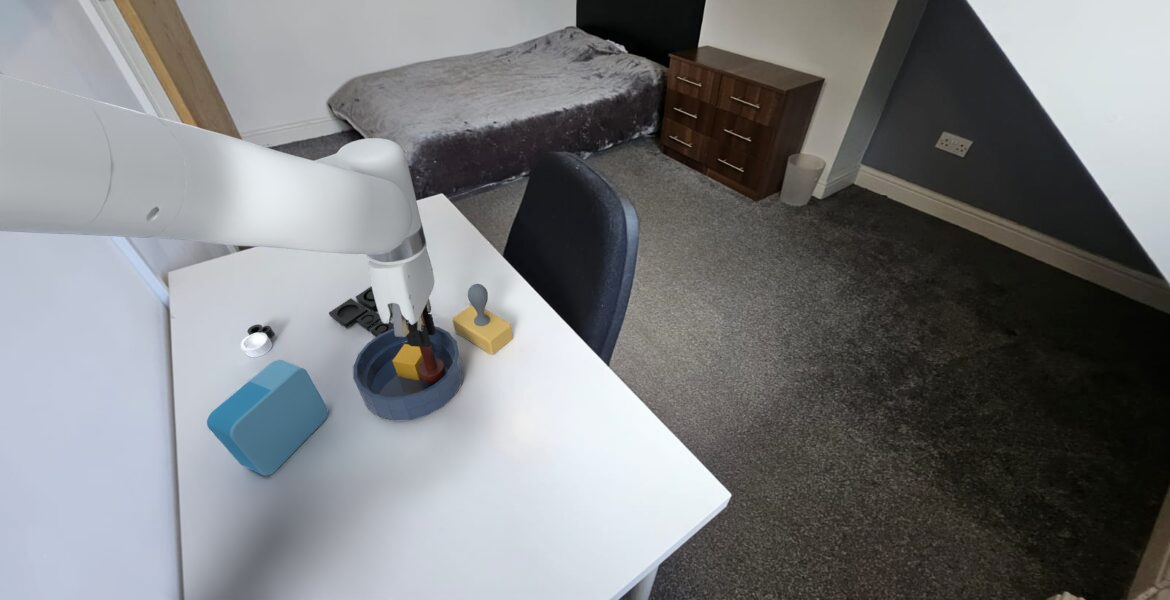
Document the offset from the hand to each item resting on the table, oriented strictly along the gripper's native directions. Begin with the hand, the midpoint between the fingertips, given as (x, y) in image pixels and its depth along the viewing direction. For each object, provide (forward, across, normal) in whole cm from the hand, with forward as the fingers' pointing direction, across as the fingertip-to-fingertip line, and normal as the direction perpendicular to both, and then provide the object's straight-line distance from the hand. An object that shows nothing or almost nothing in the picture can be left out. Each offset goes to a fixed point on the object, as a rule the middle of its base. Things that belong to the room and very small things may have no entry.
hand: (423, 338), depth 72 cm
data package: (+11, +12, -19) cm, 25 cm away
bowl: (+11, 0, -4) cm, 12 cm away
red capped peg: (+9, 0, 0) cm, 9 cm away
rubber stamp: (+11, -12, +6) cm, 17 cm away
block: (+10, -2, -4) cm, 11 cm away
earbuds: (+11, -11, -23) cm, 28 cm away
